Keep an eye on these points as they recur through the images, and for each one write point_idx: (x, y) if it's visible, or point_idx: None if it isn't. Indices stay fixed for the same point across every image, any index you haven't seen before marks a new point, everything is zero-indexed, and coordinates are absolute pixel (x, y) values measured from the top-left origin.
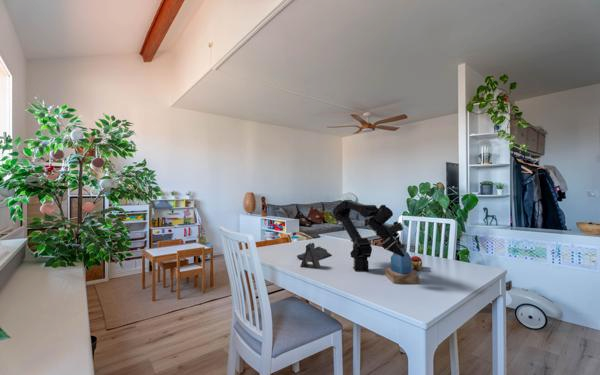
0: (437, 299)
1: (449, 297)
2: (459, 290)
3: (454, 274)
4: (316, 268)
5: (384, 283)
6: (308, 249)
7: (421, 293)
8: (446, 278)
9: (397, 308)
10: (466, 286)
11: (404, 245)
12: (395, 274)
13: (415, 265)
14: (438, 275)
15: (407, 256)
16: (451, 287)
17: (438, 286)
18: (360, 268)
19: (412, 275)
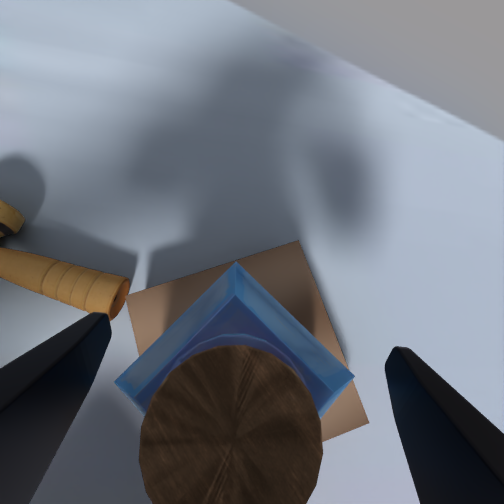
0: (492, 195)
1: (441, 144)
2: (328, 87)
3: (65, 54)
4: None
5: (367, 468)
6: None
7: (447, 255)
8: (152, 103)
9: None
10: (258, 49)
11: (268, 353)
12: (340, 406)
13: None
14: (103, 131)
15: (268, 303)
16: (297, 110)
17: (304, 162)
18: None
19: (314, 281)
